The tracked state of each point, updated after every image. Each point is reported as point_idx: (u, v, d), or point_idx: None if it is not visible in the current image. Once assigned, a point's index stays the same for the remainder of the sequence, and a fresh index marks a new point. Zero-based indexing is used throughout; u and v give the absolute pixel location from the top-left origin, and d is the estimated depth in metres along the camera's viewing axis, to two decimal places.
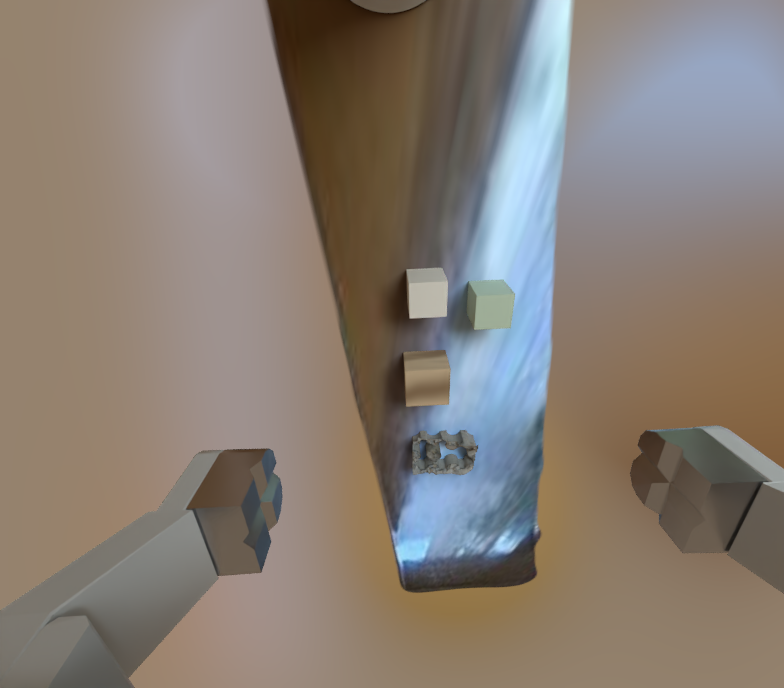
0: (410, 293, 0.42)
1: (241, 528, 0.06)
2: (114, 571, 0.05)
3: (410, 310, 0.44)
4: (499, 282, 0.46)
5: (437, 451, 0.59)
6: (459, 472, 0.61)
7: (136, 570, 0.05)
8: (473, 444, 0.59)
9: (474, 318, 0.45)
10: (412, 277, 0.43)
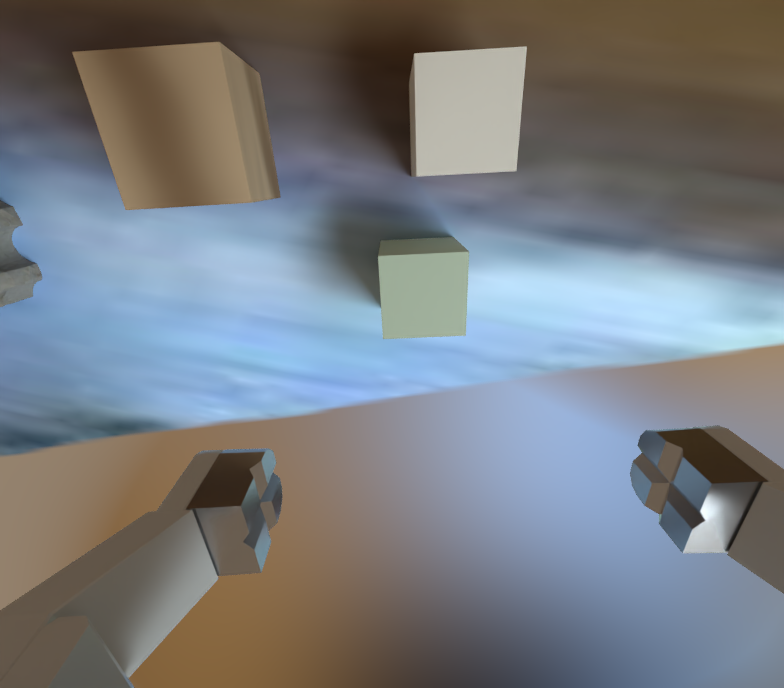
0: (494, 53, 0.15)
1: (241, 528, 0.06)
2: (113, 571, 0.05)
3: (440, 55, 0.15)
4: None
5: None
6: None
7: (136, 570, 0.05)
8: None
9: (405, 253, 0.18)
10: None
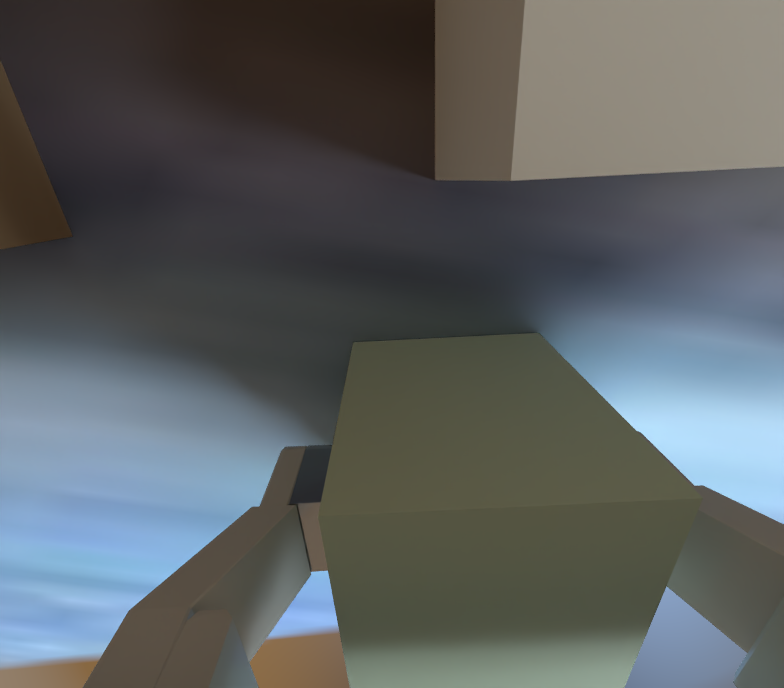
0: None
1: None
2: (236, 565, 0.05)
3: None
4: None
5: None
6: None
7: (252, 564, 0.05)
8: None
9: (431, 487, 0.05)
10: None
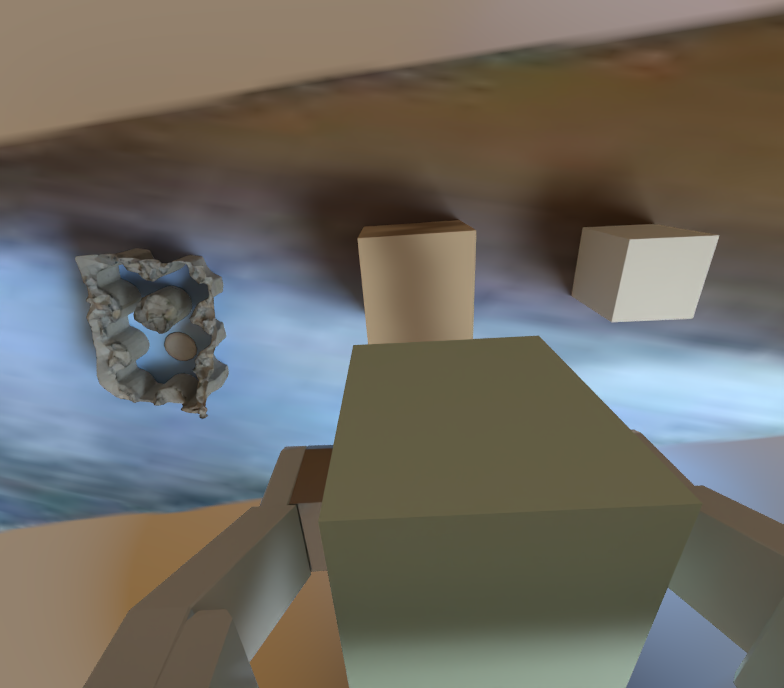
0: (693, 240, 0.18)
1: None
2: (237, 566, 0.05)
3: (650, 241, 0.18)
4: None
5: (171, 323, 0.23)
6: (103, 373, 0.24)
7: (252, 565, 0.05)
8: None
9: (431, 493, 0.05)
10: None
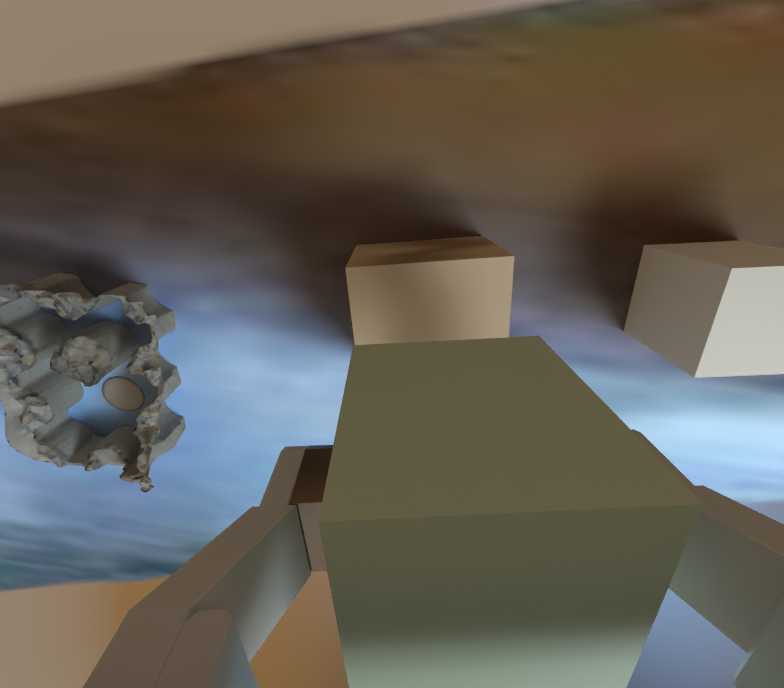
0: None
1: None
2: (236, 566, 0.05)
3: (760, 270, 0.13)
4: None
5: (103, 373, 0.18)
6: (15, 434, 0.18)
7: (252, 565, 0.05)
8: None
9: (431, 493, 0.05)
10: None
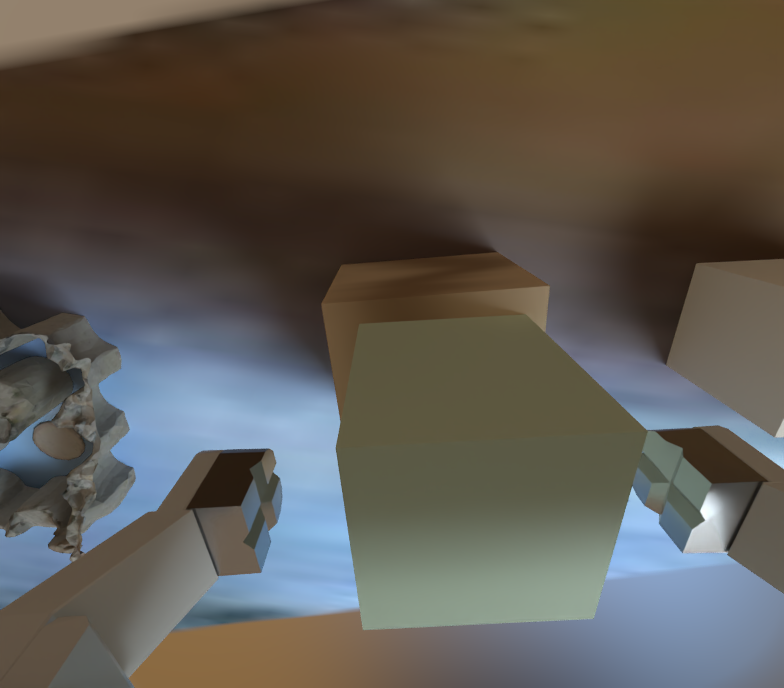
0: None
1: (241, 528, 0.06)
2: (113, 571, 0.05)
3: None
4: None
5: (23, 426, 0.14)
6: None
7: (136, 570, 0.05)
8: (83, 530, 0.17)
9: (428, 428, 0.06)
10: None
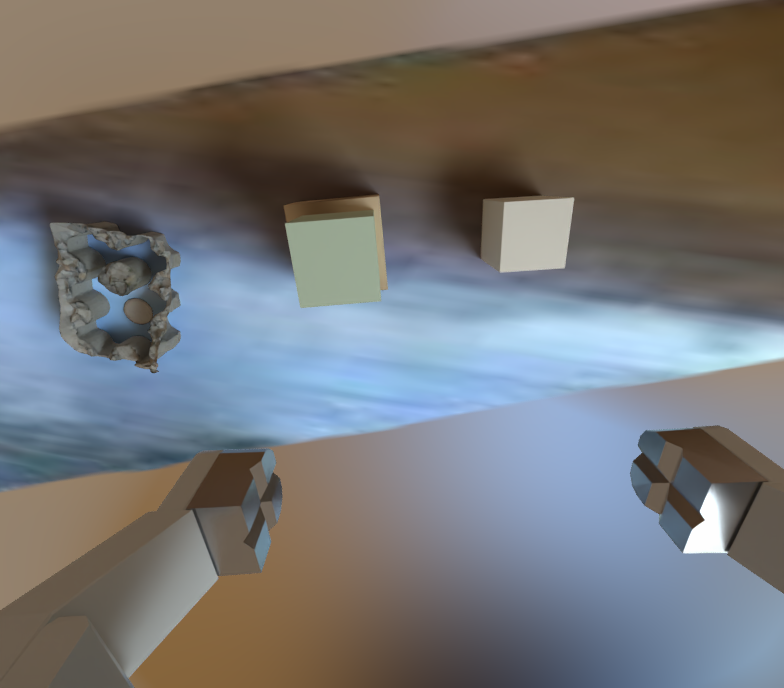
0: (554, 202, 0.23)
1: (241, 528, 0.06)
2: (113, 571, 0.05)
3: (520, 203, 0.23)
4: None
5: (131, 288, 0.27)
6: (65, 328, 0.27)
7: (136, 570, 0.05)
8: None
9: (313, 220, 0.19)
10: None
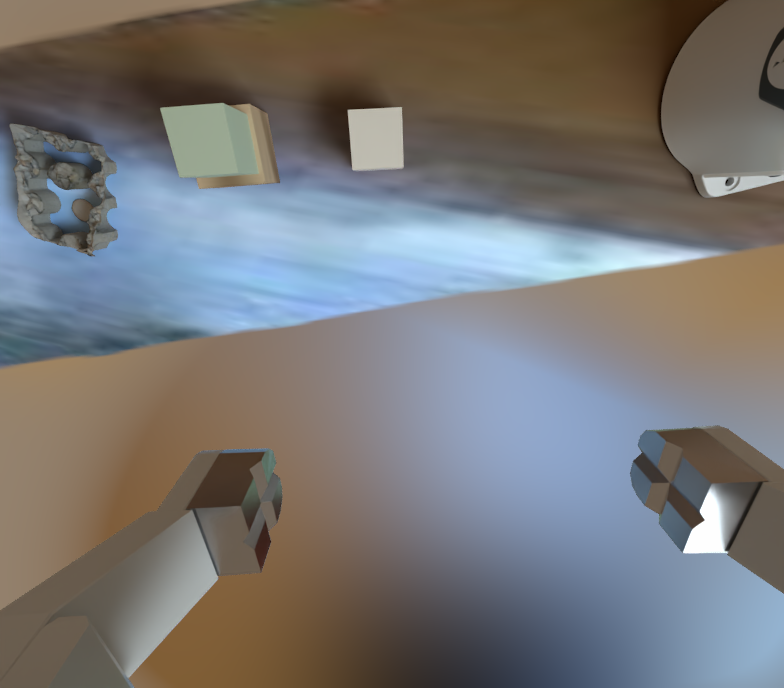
0: (386, 110, 0.30)
1: (241, 528, 0.06)
2: (113, 572, 0.05)
3: (360, 111, 0.30)
4: (252, 163, 0.31)
5: (74, 185, 0.35)
6: (22, 213, 0.35)
7: (136, 570, 0.05)
8: (92, 248, 0.37)
9: None
10: None
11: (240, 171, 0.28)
